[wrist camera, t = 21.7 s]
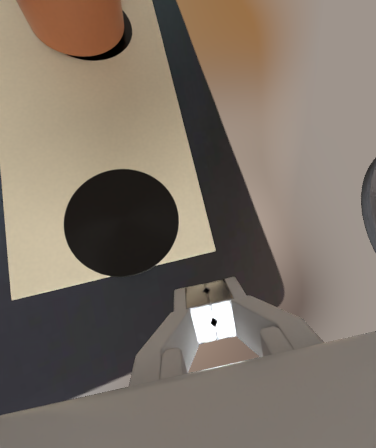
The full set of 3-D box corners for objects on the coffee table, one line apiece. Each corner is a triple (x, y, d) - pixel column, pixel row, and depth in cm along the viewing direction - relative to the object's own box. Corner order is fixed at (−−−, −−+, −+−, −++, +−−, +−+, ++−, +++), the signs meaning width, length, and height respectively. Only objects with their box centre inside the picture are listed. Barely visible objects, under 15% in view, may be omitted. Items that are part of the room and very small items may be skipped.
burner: (125, 3, 29) (124, -6, 28) (140, 67, 27) (139, 59, 26) (40, -1, 27) (35, -11, 26) (49, 69, 25) (45, 61, 24)
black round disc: (166, 166, 25) (166, 162, 24) (188, 261, 23) (189, 261, 22) (60, 180, 22) (56, 176, 21) (75, 289, 20) (71, 290, 20)
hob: (150, 1, 30) (150, -7, 29) (213, 251, 24) (215, 250, 23) (-9, -6, 26) (-16, -16, 25) (18, 298, 19) (11, 300, 18)
